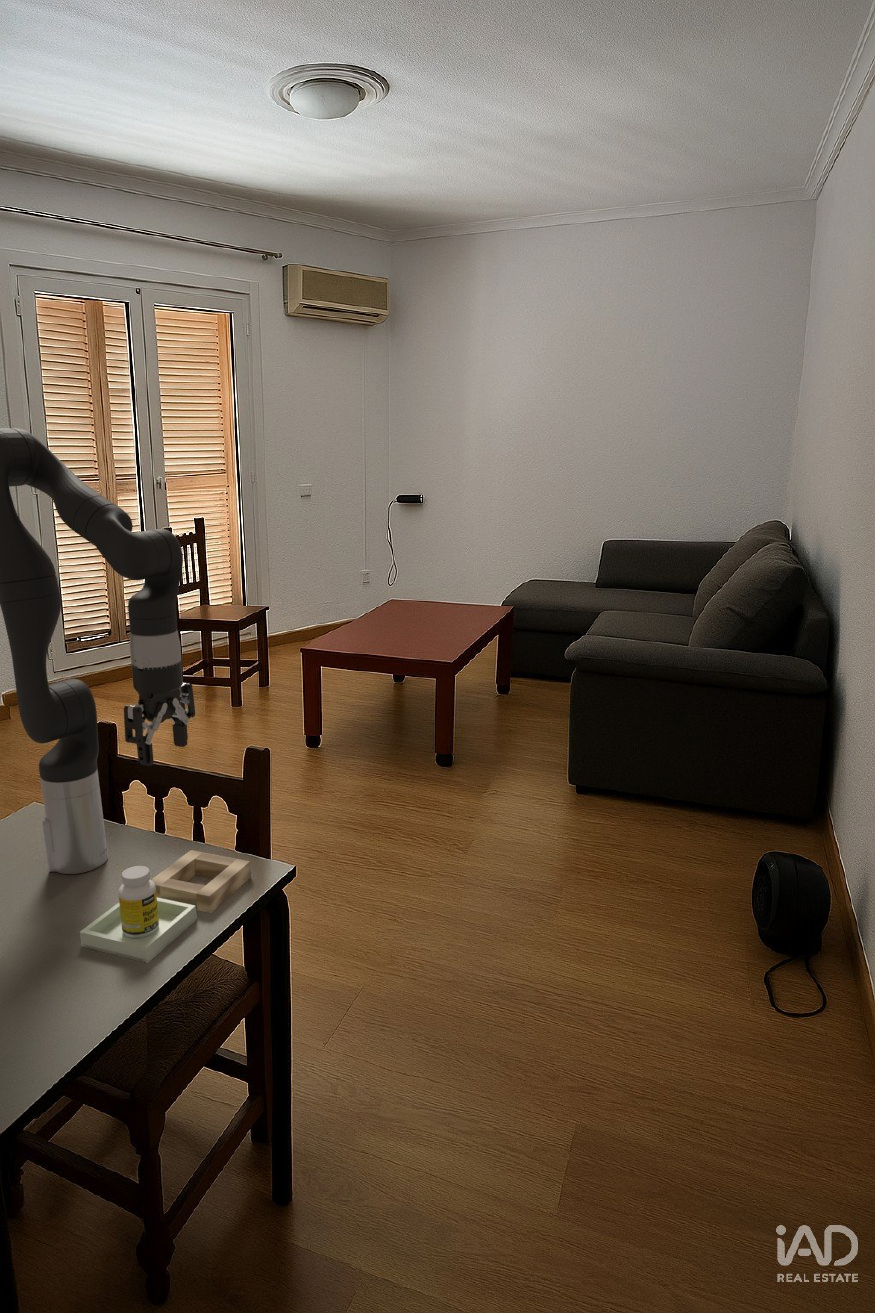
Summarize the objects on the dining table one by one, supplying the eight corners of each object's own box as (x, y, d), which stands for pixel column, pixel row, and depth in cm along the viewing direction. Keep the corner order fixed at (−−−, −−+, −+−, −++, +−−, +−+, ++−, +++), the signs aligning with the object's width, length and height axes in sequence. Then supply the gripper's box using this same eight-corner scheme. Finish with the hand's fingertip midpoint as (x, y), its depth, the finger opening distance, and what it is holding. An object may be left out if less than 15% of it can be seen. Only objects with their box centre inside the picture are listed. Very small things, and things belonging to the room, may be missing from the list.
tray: (147, 963, 127) (146, 948, 127) (81, 946, 131) (79, 932, 131) (196, 919, 138) (195, 905, 138) (134, 905, 142) (132, 892, 142)
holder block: (210, 913, 140) (209, 896, 139) (148, 899, 144) (146, 883, 143) (251, 877, 151) (250, 861, 150) (192, 865, 155) (190, 850, 154)
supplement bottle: (148, 941, 132) (142, 883, 129) (115, 937, 133) (108, 879, 130) (166, 921, 137) (160, 865, 134) (134, 917, 138) (128, 861, 135)
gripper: (165, 645, 145) (173, 737, 149) (105, 668, 132) (114, 767, 137) (203, 650, 142) (210, 743, 147) (145, 673, 129) (154, 775, 134)
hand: (164, 755), depth 142 cm, fingers open, 8 cm apart
